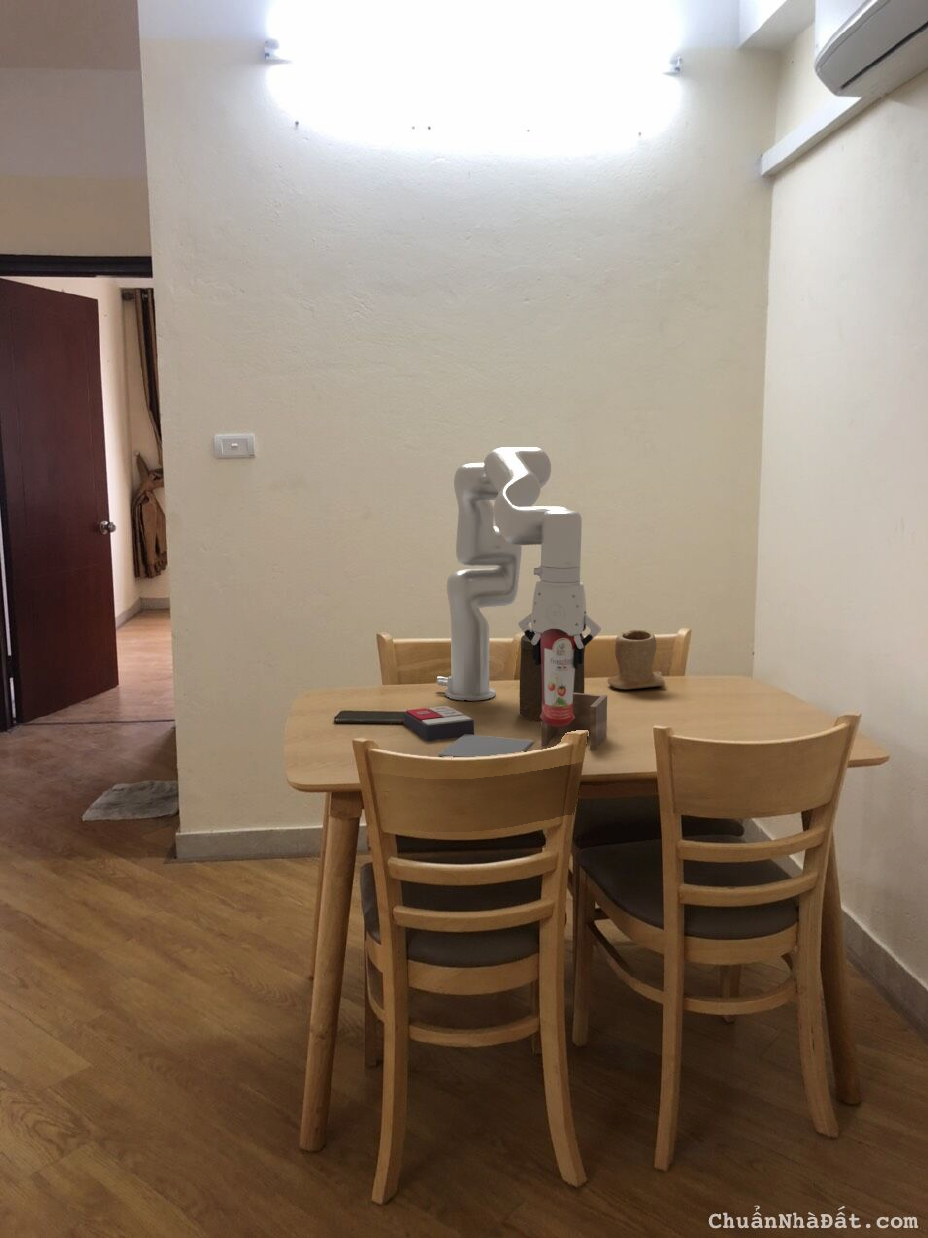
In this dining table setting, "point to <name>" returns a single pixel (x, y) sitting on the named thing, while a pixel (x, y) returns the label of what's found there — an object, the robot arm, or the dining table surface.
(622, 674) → the stone cup
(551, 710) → the liquor
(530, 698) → the wooden container
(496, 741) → the slate mat
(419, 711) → the navy red white box
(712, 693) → the dining table surface
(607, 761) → the dining table surface
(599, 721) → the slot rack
